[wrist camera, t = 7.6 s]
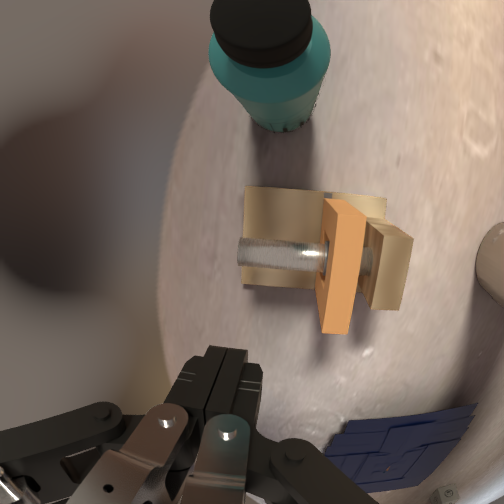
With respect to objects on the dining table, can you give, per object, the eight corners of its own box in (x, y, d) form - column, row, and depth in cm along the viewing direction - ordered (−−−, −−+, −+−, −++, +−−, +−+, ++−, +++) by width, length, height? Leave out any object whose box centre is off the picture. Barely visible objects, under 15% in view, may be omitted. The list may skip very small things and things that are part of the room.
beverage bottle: (281, 148, 29) (265, 122, 10) (233, 104, 28) (142, 25, 9) (327, 104, 27) (385, 15, 8) (278, 61, 26) (255, -67, 7)
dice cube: (446, 492, 44) (450, 507, 39) (429, 497, 44) (433, 512, 39) (454, 483, 42) (459, 498, 37) (437, 488, 43) (442, 503, 38)
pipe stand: (242, 279, 33) (226, 320, 25) (246, 185, 30) (228, 195, 22) (370, 289, 32) (393, 331, 23) (383, 197, 29) (417, 212, 20)
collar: (314, 286, 31) (321, 333, 22) (323, 197, 28) (338, 213, 20) (333, 288, 31) (347, 334, 22) (344, 199, 28) (366, 216, 19)
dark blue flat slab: (481, 387, 33) (489, 404, 29) (417, 475, 44) (419, 488, 41) (333, 404, 36) (334, 426, 32) (308, 486, 47) (307, 501, 44)
